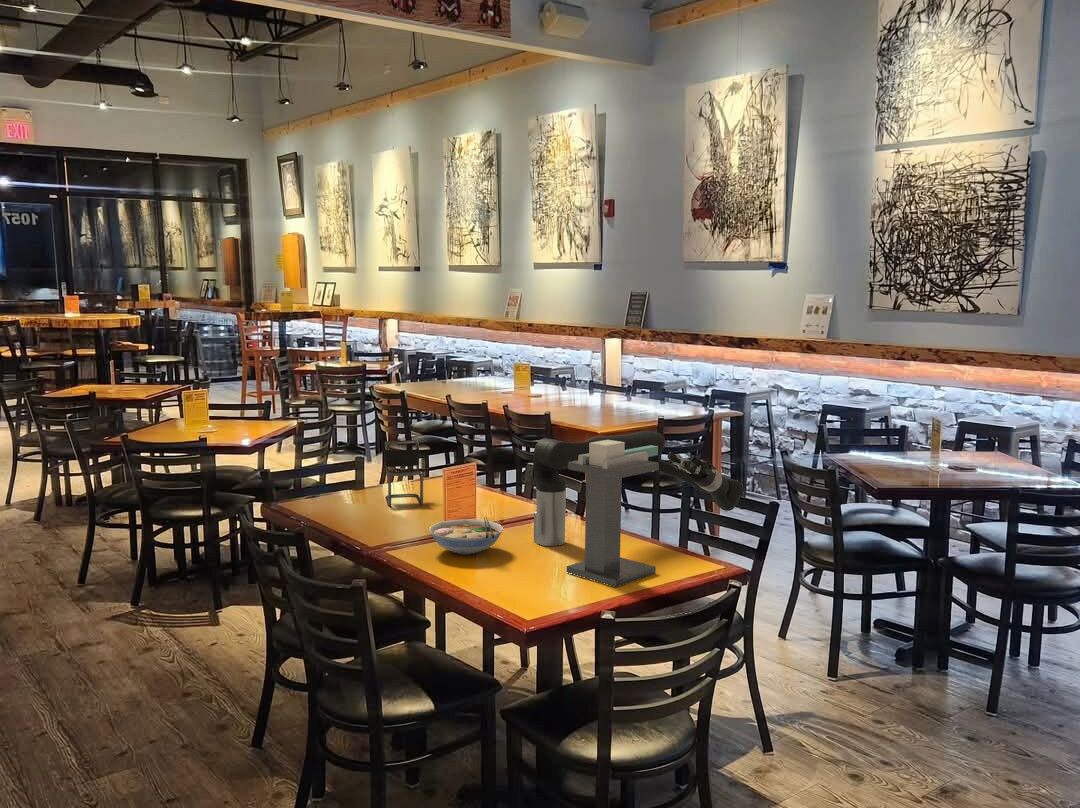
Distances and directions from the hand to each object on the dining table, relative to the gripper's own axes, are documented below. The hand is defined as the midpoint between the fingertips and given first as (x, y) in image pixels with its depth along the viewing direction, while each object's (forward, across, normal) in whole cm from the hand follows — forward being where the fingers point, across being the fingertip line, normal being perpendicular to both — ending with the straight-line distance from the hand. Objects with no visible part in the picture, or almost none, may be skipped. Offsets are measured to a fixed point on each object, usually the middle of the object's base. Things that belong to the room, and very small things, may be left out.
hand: (680, 456), depth 280 cm
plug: (+25, 0, +12) cm, 28 cm away
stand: (+13, 0, +42) cm, 44 cm away
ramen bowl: (+26, -45, +50) cm, 72 cm away
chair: (+2, -112, +36) cm, 118 cm away
